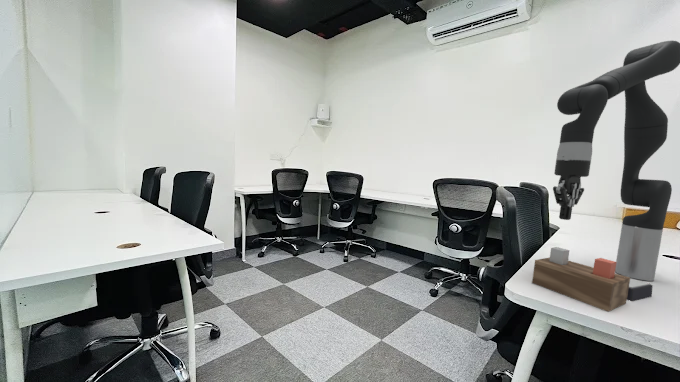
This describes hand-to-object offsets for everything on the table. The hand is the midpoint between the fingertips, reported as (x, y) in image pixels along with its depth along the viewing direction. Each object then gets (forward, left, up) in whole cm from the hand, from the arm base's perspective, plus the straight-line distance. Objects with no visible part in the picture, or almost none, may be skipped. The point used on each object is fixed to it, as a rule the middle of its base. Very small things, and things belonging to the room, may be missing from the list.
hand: (564, 219), depth 78 cm
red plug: (0, +10, -16) cm, 19 cm away
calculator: (-16, +7, -21) cm, 27 cm away
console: (0, +5, -20) cm, 21 cm away
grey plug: (0, 0, -16) cm, 16 cm away
